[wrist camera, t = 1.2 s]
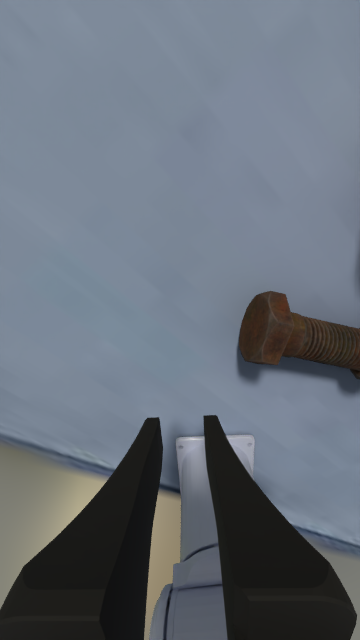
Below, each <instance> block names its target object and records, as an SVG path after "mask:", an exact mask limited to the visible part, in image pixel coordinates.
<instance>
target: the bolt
mask: <svg viewBox="0 0 360 640" xmlns="http://www.w3.org/2000/svg"><path fill="white" fill-rule="evenodd" d="M239 347H240V351H241V354H242V356H243V358H244V360H245V361H247V362H252V363H257V364H270V365H278V363H279V361H280V359H281V356H284V357H295V358H301V359H305V360H310V361H314V362H319V363H323V364H329V365H334V366H339V367H343V368H349V369H350V370H351V372H352V373H353V374H354V376H355V377H356V378H357V379H360V328H359V329H357V328H353V327H348V326H344V325H340V324H335V323H330V322H327V321H321V320H317V319H312V318H308V317H304V316H301V315H299V314H296V313H292V312H290V308H289V304H288V301H287V297H286V294H282V293H278V292H273V291H269V292H264V293H261V294H258V295H256V296H255V297H254V299H253V300H252V301H251V303H250V304H249V306H248V307H247V309H246V312H245V315H244V318H243V320H242V325H241V330H240V338H239Z"/></svg>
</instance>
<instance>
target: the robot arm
mask: <svg viewBox="0 0 360 640" xmlns="http://www.w3.org/2000/svg"><path fill="white" fill-rule="evenodd" d="M248 443H250V444H248ZM254 444H255V440H254V437H253V436H252V435H225V433H224V431H223V429H222V427H221V424H220V422H219V419H218V417H217V416H216V415H209V416H204V436H196V437H178V438H177V439H176V451H177V461H178V471H179V481H180V492H181V551H180V563H177V564H174V566H173V583H172V584H167V585H165V587H164V588H163V590H162V592H161V594H160V597H159V599H158V600H157V603H156V605H155V608H154V612H153V617H152V622H151V628H150V636H149V640H350V639H351V636H352V633H353V630H354V628H355V625H356V620H357V614H356V612H355V610H354V607H353V604H352V602H351V600H350V598H349V596H348V594H347V592H346V590H345V588H344V587H343V585H342V583H341V581H340V579H339V578H338V576H337V574H336V573H335V571H334V569H333V568H332V566H331V565H330V563H329V562H328V561H327V560H326V559H325V558H324V557H323V556H322V555H321V554H320V553H319V552H318V551H317V550H316V549H315V548H314V547H313V546H312V545H311V544H310V543H309V542H308V541H307V540H306V539H305V538H303V537H302V535H301V534H300V533H299V532H298V531H297V530H296V529H295V528H294V527H293V526H292V525H291V524H290V523H289V522H288V521H287V520H286V518H285V517H284V516H283V515H282V514H281V513H280V512H279V511H278V509H277V508H276V507H275V506H274V505H273V504H272V503H271V501H270V500H269V499H268V498H267V497H266V495H265V494H264V493H263V492H262V490H261V489H260V488H259V486H258V485H257V484H256V482H255V480H254V477H253V463H254ZM180 445H182V446H180ZM162 456H163V444H162V436H161V428H160V420H159V417H158V418H147V419H146V420H145V422H144V424H143V426H142V428H141V430H140V432H139V434H138V435H137V437H136V439H135V441H134V442H133V444H132V445H131V447H130V449H129V450H128V452H127V454H126V455H125V457H124V458H123V460H122V461H121V462H120V464H119V465H118V467H117V468H116V470H115V471H114V473H113V474H112V475H111V477H110V478H109V479H108V481H107V482H106V483H105V484H104V486H103V487H102V488H101V489H100V491H99V492H98V493H97V494H96V495H95V496H94V498H93V499H92V500H91V501H90V502H89V503H88V505H87V506H86V507H85V508H84V509H83V510H82V511H81V512H80V513H79V514H78V515H77V517H76V518H74V520H73V521H72V522H71V523H70V524H69V525H68V526H67V527H66V528H65V529H64V530H63V531H62V532H61V533H60V534H59V535H58V536H57V537H56V538H55V539H53V541H51V542H50V543H49V544H48V545H47V546H46V547H45V548H44V549H43V550H41V551H40V552H39V553H38V554H37V555H36V556H35V557H34V558H33V559H32V560H30V561H29V562H28V563H27V564H26V565H25V566H24V567H23V568H22V570H21V572H20V574H19V576H18V577H17V579H16V580H15V582H14V584H13V586H12V588H11V589H10V591H9V593H8V595H7V597H6V599H5V601H4V604H3V605H2V607H1V609H0V640H144V628H145V614H146V599H147V583H148V572H149V559H150V547H151V535H152V527H153V520H154V513H155V507H156V501H157V495H158V489H159V483H160V476H161V470H162Z"/></svg>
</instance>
